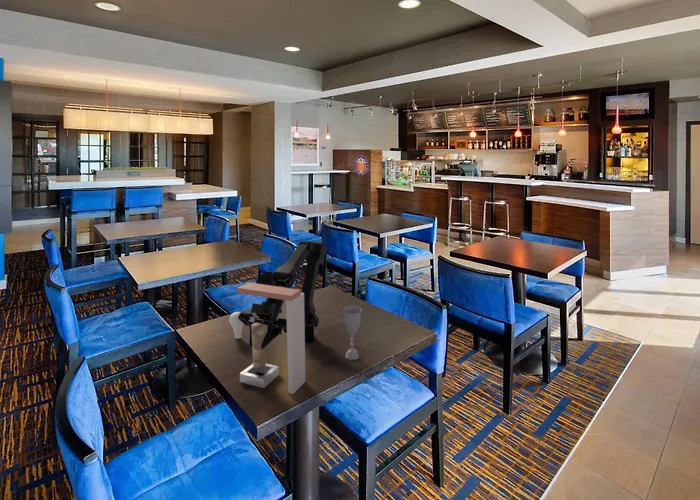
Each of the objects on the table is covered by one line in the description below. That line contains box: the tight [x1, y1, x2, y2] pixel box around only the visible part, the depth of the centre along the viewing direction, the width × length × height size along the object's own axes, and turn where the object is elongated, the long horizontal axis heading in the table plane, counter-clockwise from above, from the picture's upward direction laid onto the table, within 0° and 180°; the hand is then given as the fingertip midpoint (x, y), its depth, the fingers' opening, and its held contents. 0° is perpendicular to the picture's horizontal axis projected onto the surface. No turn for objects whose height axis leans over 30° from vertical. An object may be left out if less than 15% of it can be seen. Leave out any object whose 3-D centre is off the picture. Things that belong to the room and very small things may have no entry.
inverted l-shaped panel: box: [237, 282, 306, 395], centre depth 135 cm, size 8×19×32 cm, turn 67°
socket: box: [239, 363, 280, 389], centre depth 140 cm, size 9×9×3 cm
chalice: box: [342, 305, 363, 360], centre depth 154 cm, size 7×7×18 cm
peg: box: [251, 323, 267, 368], centre depth 138 cm, size 4×4×14 cm
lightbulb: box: [228, 311, 245, 340], centre depth 169 cm, size 6×6×11 cm
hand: (256, 347), depth 137 cm, fingers closed on peg, 4 cm apart
